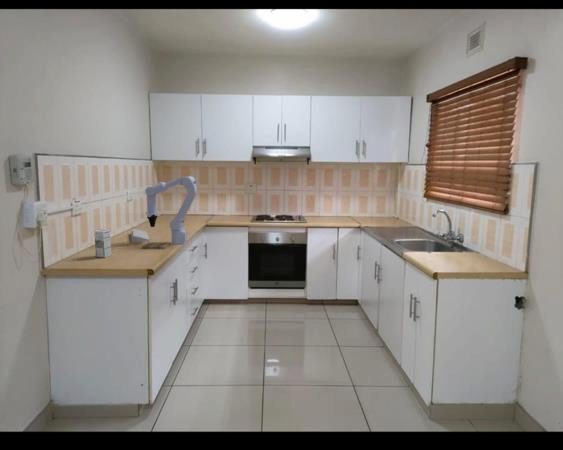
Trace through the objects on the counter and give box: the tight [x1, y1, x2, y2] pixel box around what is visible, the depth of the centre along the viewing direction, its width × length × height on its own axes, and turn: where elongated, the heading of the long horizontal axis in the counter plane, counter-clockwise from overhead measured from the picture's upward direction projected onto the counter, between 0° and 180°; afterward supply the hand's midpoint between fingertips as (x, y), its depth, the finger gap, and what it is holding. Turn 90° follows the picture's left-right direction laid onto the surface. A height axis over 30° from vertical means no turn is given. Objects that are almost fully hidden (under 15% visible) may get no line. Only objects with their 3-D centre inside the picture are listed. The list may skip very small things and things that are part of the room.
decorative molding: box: [130, 228, 150, 244], centre depth 271 cm, size 34×5×10 cm
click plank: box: [141, 241, 160, 250], centre depth 241 cm, size 7×14×1 cm, turn 2°
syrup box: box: [93, 229, 112, 259], centre depth 213 cm, size 6×6×14 cm
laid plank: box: [153, 241, 171, 250], centre depth 241 cm, size 6×14×1 cm, turn 2°
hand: (152, 226), depth 252 cm, fingers closed
